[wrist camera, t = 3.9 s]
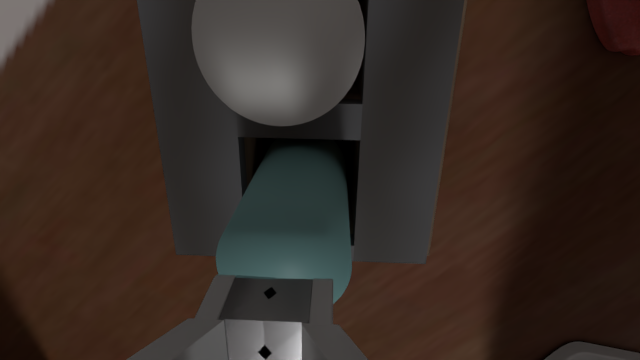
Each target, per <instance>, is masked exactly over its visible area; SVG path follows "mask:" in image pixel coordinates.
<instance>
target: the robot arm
mask: <svg viewBox="0 0 640 360" xmlns="http://www.w3.org/2000/svg"><path fill="white" fill-rule="evenodd" d="M127 360H368V359H367V358H366V357H365V355H364V354H363V353H362V352H361V351H360V349H359V348H358V347H357V346H356V345H355V344H354V342H353V341H352V340H351V339H350V338H349V336H348V335H347V334H346V333H345V332H344V330H343V329H342V328H341V327H340V326H339V325H333V279H317V278H313V279H294V278H274V277H258V276H242V275H237V276H236V275H220V274H218V275H216V276H215V277H214V279H213V281H212V283H211V285H210V287H209V289H208V291H207V293H206V295H205V297H204V299H203V301H202V303H201V306H200V308H199V310H198V312H197V314H196V316H195V318H194V319H187V320H185V321H184V322H182V323H181V324H179V325H178V326H176V327H175V328H173V329H172V330H170V331H169V332H167V333H166V334H164V335H163V336H161V337H160V338H158V339H157V340H155V341H154V342H152V343H151V344H149V345H148V346H146V347H145V348H143V349H142V350H140V351H139V352H137V353H136V354H134V355H133V356H131V357H130V358H128V359H127ZM544 360H640V353H636V352H631V351H626V350H621V349H616V348H611V347H606V346H601V345H596V344H591V343H586V342H571V343H568V344H566V345H564V346H562V347H560V348H559V349H557V350H556V351H555V352H553V353H552V354H551V355H549V356H548V357H547V358H546V359H544Z"/></svg>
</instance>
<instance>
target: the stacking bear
mask: <svg viewBox="0 0 640 360" xmlns="http://www.w3.org/2000/svg"><path fill="white" fill-rule="evenodd" d="M587 5H588V10H589V14H590V18H591V21H592V24H593V27H594V29H595V32H596V34H597V36H598V38H599V40H600V42H601V43H602V45H603V46H604V47H605V48H606V49H607V50H609V51H612V52H618V51H620V52H622V53H623V54H625V55H628V56H634V55H640V0H587Z"/></svg>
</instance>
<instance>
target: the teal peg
mask: <svg viewBox="0 0 640 360" xmlns="http://www.w3.org/2000/svg"><path fill="white" fill-rule="evenodd" d="M216 265H217V271H218V274H220V275H236V276H237V275H242V276H258V277H274V278H294V279H313V278H317V279H333V304H334V303H335V302H336V301H337V300H338V299H339V298H340V297H341V295H342V294H343V292H344V291H345V289H346V287H347V285H348V283H349V280H350V277H351V271H352V259H351V243H350V227H349V210H348V194H347V178H346V164H345V159H344V155H343V153H342V151H341V149H340V148H339V146H338V145H337V144H336V142H335V141H334V140H330V139H293V138H277V139H276V140H275V141H274V142H273V143H272V144H271V146H270V147H269V149H268V150H267V152H266V154H265V156H264V158H263V160H262V162H261V163H260V165H259V167H258V169H257V171H256V173H255V175H254V176H253V178H252V180H251V182H250V184H249V186H248V188H247V189H246V191H245V193H244V195H243V197H242V199H241V201H240V202H239V204H238V206H237V208H236V210H235V212H234V214H233V215H232V217H231V219H230V221H229V223H228V225H227V227H226V228H225V230H224V232H223V234H222V236H221V238H220V240H219V243H218V246H217V251H216Z"/></svg>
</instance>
